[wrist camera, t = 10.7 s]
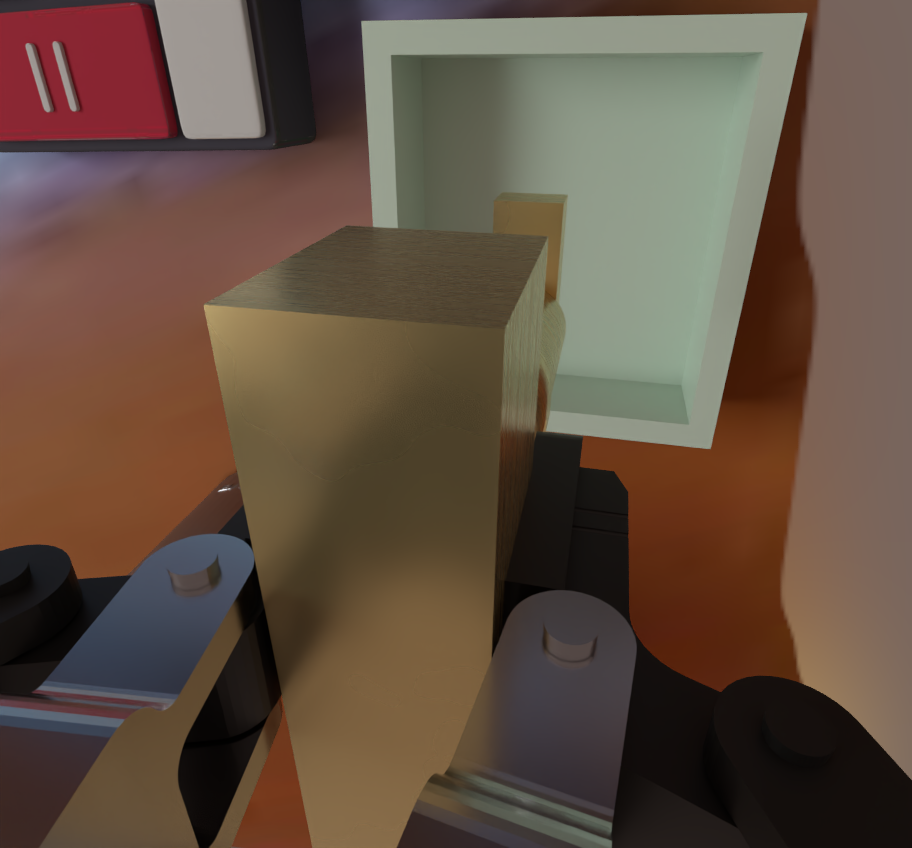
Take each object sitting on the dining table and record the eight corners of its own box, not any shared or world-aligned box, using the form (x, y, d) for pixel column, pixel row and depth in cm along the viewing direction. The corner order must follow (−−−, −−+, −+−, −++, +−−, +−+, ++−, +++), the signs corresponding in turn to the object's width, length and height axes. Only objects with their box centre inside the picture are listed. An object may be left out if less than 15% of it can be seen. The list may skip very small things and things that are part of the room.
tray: (698, 401, 30) (710, 449, 26) (412, 374, 33) (384, 413, 29) (775, 25, 23) (807, 12, 19) (400, 30, 25) (361, 20, 22)
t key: (487, 147, 15) (203, 304, 5) (589, 150, 15) (503, 328, 5) (480, 435, 19) (313, 854, 9) (560, 445, 19) (481, 899, 8)
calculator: (-139, -166, 24) (210, -233, 20) (-31, -133, 27) (280, -183, 23) (-25, 154, 29) (269, 152, 25) (52, 146, 32) (320, 143, 28)
